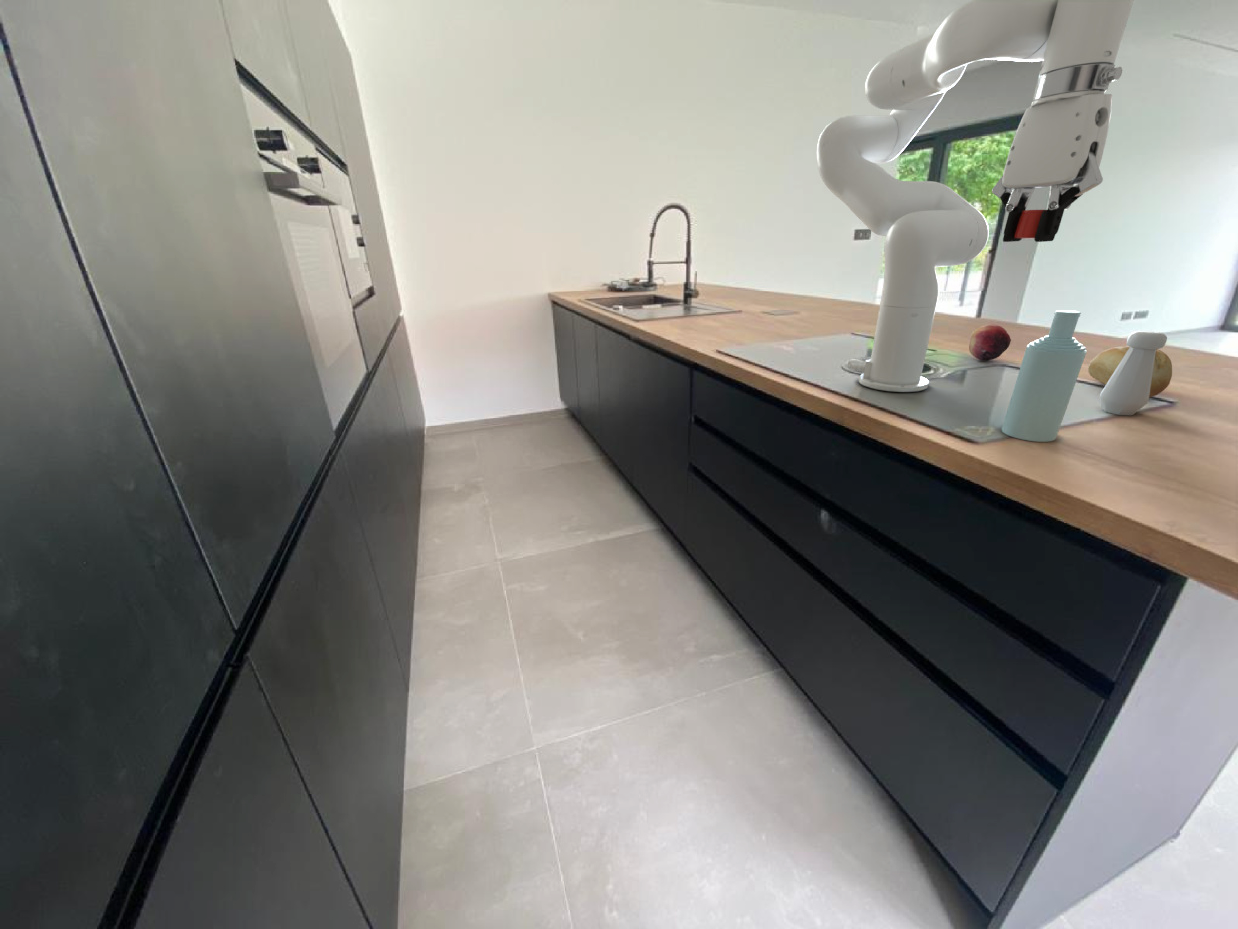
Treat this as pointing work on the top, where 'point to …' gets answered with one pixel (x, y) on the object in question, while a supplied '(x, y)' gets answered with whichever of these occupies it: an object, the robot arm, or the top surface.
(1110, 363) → the potato
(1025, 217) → the cap
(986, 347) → the fruit
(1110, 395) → the salt shaker
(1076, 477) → the top surface
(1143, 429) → the top surface
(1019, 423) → the bottle
